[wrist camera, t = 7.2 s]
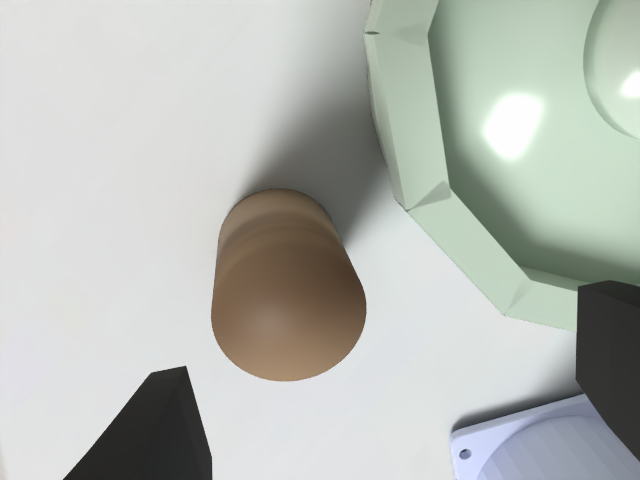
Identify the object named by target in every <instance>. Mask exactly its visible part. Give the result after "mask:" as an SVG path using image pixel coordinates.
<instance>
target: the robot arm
mask: <svg viewBox="0 0 640 480" xmlns="http://www.w3.org/2000/svg"><path fill="white" fill-rule="evenodd" d="M576 381H577V382H578V384H579V385H580V387H581V388H582V390H583V391H584V393H585V394H582V395H578V396H574V397H571V398H567V399H564V400H560V401H557V402H553V403H550V404H546V405H543V406H539V407H536V408H532V409H529V410H525V411H521V412H518V413H514V414H511V415H507V416H504V417H500V418H497V419H493V420H490V421H486V422H483V423H479V424H476V425H472V426H468V427H465V428H461V429H458V430H456V431H454V432H453V433H452V434H451V436H450V438H449V446H450V451H451V457H452V462H453V468H454V473H455V479H456V480H640V286H636V285H632V284H627V283H623V282H618V281H612V280H607V281H602V282H597V283H592V284H587V285H582V286H578V294H577V342H576ZM464 449H467V450H466V451H465V452H462V453H460V452H461V451H462V450H464ZM63 480H212V456H211V453H210V449H209V446H208V442H207V438H206V435H205V431H204V428H203V424H202V421H201V417H200V414H199V410H198V406H197V403H196V399H195V396H194V392H193V389H192V385H191V382H190V378H189V374H188V371H187V367H186V366H182V367H177V368H172V369H167V370H162V371H157V372H152V373H151V374H150V375H149V376H148V377H147V378H146V380H145V381H144V382H143V383H142V384H141V386H140V387H139V388H138V390H137V391H136V392H135V393H134V395H133V396H132V397H131V398H130V400H129V401H128V402H127V404H126V405H125V406H124V407H123V409H122V410H121V411H120V413H119V414H118V415H117V416H116V418H115V419H114V420H113V421H112V423H111V424H110V425H109V426H108V427H107V429H106V430H105V431H104V432H103V434H102V435H101V436H100V437H99V439H98V440H97V441H96V442H95V444H94V445H93V446H92V447H91V448H90V450H89V451H88V452H87V453H86V454H85V455H84V457H83V458H82V459H81V460H80V461H79V462H78V463H77V464H76V466H75V467H74V468H73V469H72V470H71V471H70V472H69V473H68V474H67V476H66V477H65V478H64V479H63Z"/></svg>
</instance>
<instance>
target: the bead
mask: <svg viewBox="0 0 640 480" xmlns="http://www.w3.org/2000/svg"><path fill="white" fill-rule="evenodd" d="M365 319H366V298H365V293H364V290H363V287H362V284H361V282H360V280H359V278H358V276H357V274H356V272H355V270H354V268H353V265H352V263H351V261H350V259H349V257H348V255H347V253H346V251H345V249H344V246H343V244H342V242H341V240H340V238H339V236H338V234H337V232H336V230H335V227H334V225H333V223H332V221H331V219H330V217H329V215H328V214H327V212H326V211H325V210H324V209H323V207H322V206H321V205H320V204H319V203H317V202H316V201H315V200H314V199H312V198H310V197H309V196H307V195H305V194H303V193H300V192H297V191H294V190H289V189H268V190H263V191H260V192H257V193H254V194H252V195H250V196H248V197H246V198H245V199H243V200H242V201H240V202H239V203H238V204H237V205H236V206H235V207H234V208H233V209H232V210H231V211H230V212H229V214H228V215H227V217H226V218H225V220H224V222H223V224H222V227H221V230H220V234H219V239H218V249H217V259H216V269H215V279H214V289H213V299H212V309H211V321H212V328H213V332H214V336H215V338H216V340H217V343H218V345H219V346H220V348H221V349H222V351H223V352H224V354H225V355H226V356H227V357H228V358H229V359H230V360H231V361H232V362H233V363H234V364H235V365H236V366H238V367H239V368H241V369H242V370H244V371H246V372H248V373H249V374H251V375H254V376H257V377H259V378H263V379H267V380H273V381H298V380H303V379H307V378H311V377H314V376H317V375H319V374H321V373H323V372H325V371H327V370H329V369H331V368H332V367H334V366H335V365H336V364H338V363H339V362H340V361H342V360H343V359H344V358H345V357H346V356H347V355H348V354H349V352H350V351H351V350H352V349H353V347H354V346H355V344H356V343H357V341H358V339H359V337H360V335H361V333H362V331H363V327H364V324H365Z"/></svg>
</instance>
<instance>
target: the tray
mask: <svg viewBox="0 0 640 480" xmlns="http://www.w3.org/2000/svg"><path fill="white" fill-rule="evenodd" d="M364 31H365V32H367V33H366V34H363V36H364V41H365V46H366V52H367V78H368V86H369V94H370V102H371V110H372V116H373V120H374V124H375V128H376V132H377V136H378V139H379V143H380V147H381V151H382V154H383V156H384V159H385V161H386V163H387V166H388V168H389V174H390V179H391V184H392V190H393V195H394V198H395V200H396V201H397V202H398V203H399V204H400V205H401V206H402V207H403V209H404V210H405V211H406V212H407V213H408V214H409V215H410V216H411V217H412V218H413V219H414V220H415V222H416V223H417V224H418V225H419V226H420V227H421V228H422V229H423V230H424V231H425V232H426V233H427V234H428V235H429V237H430V238H431V239H432V240H433V241H434V242H435V243H436V244H437V245H438V246H439V247H440V248H441V249H442V250H443V252H444V253H445V254H446V255H447V256H448V257H449V258H450V259H451V260H452V261H453V262H454V263H455V264H456V265H457V267H458V268H459V269H460V270H461V271H462V272H463V273H464V274H465V275H466V276H467V277H468V278H469V279H470V280H471V282H472V283H473V284H474V285H475V286H476V287H477V288H478V289H479V290H480V291H481V292H482V293H483V294H484V295H485V297H486V298H487V299H488V300H489V301H490V302H491V303H492V304H493V305H494V306H495V307H496V308H497V309H498V310H499V312H500V313H501V314H502V315H504V316H506V317H511V318H515V319H519V320H524V321H528V322H533V323H537V324H541V325H546V326H550V327H555V328H559V329H564V330H568V331H572V332H577V294H578V286H582V285H587V284H592V283H597V282H602V281H607V280H612V281H618V282H623V283H627V284H632V285H636V286H640V0H371V4H370V11H369V14H368V18H367V21H366V24H365V27H364Z"/></svg>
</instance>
